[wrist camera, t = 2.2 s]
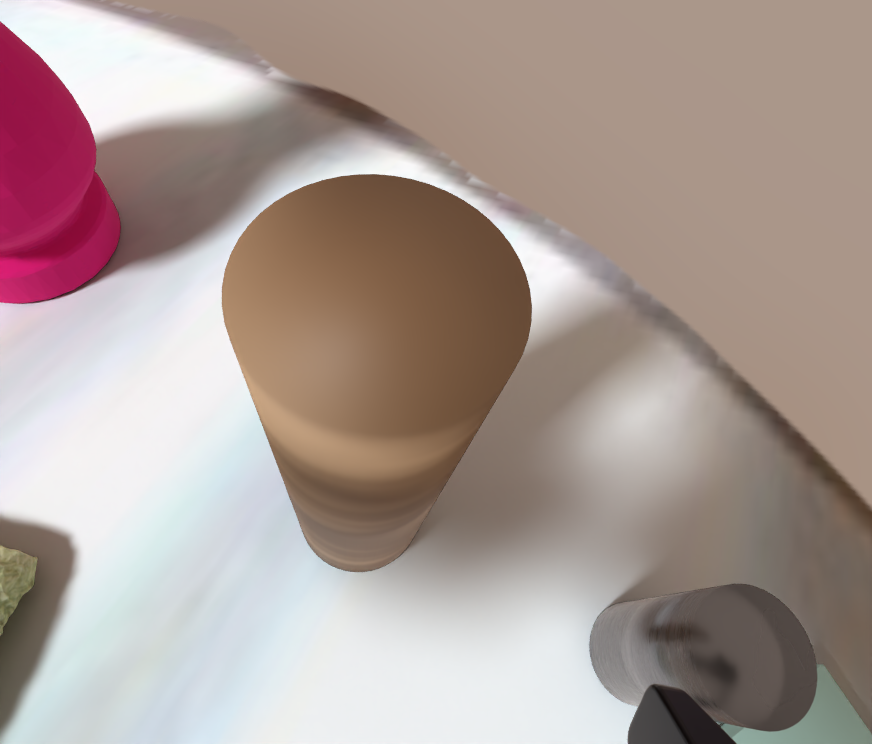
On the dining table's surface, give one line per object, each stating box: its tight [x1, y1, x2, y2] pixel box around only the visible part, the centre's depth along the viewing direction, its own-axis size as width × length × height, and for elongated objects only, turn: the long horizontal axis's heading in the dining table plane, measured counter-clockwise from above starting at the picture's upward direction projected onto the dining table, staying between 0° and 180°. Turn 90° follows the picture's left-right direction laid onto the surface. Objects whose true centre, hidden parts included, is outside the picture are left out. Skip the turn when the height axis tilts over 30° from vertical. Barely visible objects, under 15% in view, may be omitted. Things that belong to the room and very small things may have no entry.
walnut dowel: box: [222, 174, 532, 572], centre depth 13 cm, size 4×4×13 cm
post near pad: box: [590, 584, 817, 732], centre depth 15 cm, size 3×3×6 cm
